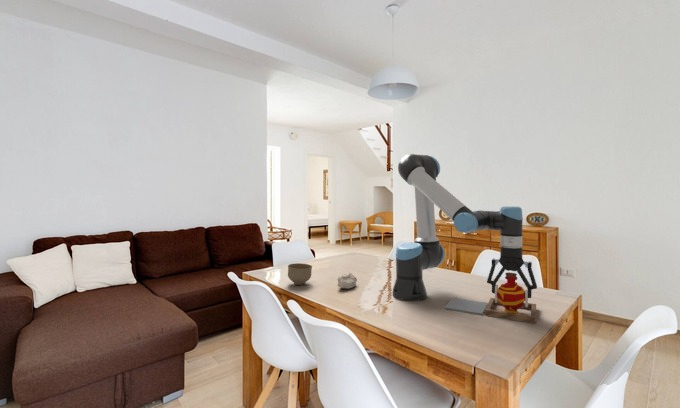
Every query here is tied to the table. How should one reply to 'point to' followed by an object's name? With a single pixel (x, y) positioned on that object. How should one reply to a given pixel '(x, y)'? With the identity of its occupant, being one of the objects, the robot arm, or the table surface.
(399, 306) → the table surface
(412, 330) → the table surface
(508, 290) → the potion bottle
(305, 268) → the bowl
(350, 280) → the stone
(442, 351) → the table surface
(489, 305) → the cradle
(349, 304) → the table surface
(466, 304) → the coaster
